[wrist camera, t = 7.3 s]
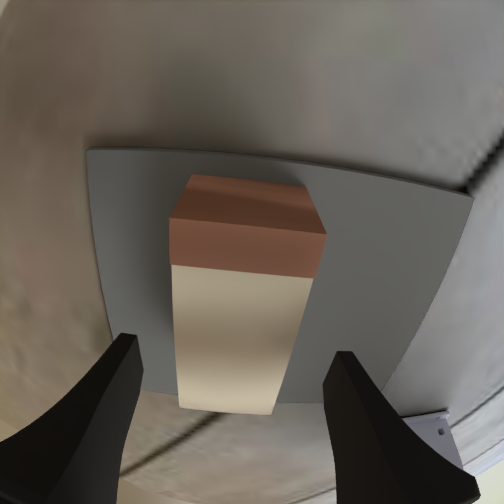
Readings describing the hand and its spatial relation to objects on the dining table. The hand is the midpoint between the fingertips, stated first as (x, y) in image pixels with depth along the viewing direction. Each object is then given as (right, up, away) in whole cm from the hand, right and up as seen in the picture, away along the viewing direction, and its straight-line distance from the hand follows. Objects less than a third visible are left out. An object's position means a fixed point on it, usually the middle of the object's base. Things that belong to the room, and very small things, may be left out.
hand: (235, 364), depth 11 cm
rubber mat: (+2, +1, +6) cm, 6 cm away
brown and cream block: (0, +2, +4) cm, 5 cm away
